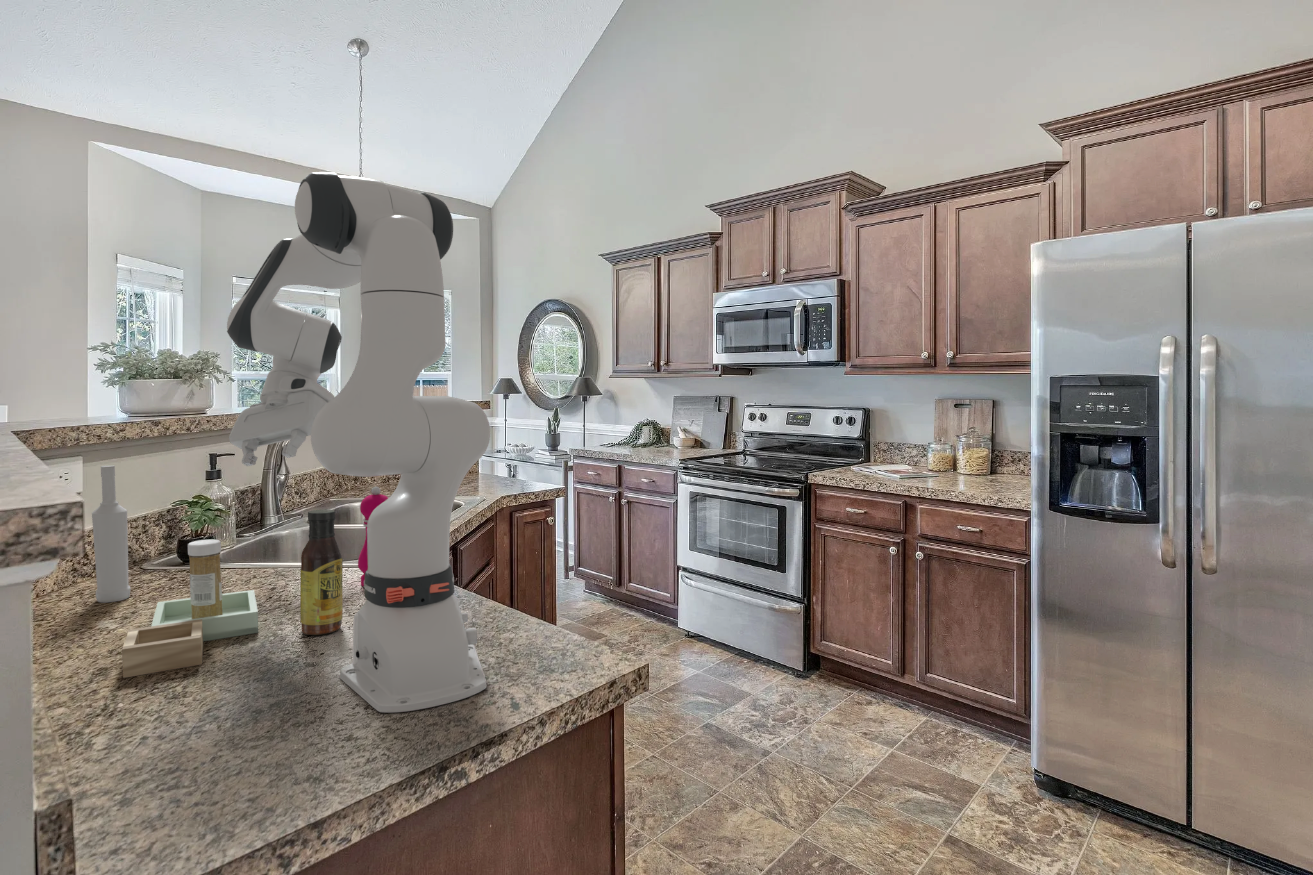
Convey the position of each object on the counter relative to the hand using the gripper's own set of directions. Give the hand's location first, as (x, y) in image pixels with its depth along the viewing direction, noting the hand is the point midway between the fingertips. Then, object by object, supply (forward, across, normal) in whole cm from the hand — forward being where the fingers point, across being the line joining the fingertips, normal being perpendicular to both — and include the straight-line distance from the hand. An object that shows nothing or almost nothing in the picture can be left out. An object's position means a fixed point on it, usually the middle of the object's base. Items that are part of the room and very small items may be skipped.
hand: (267, 460), depth 124 cm
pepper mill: (+15, +4, +30) cm, 33 cm away
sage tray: (+29, -5, +3) cm, 30 cm away
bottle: (+21, -35, +5) cm, 41 cm away
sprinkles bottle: (+28, -5, +2) cm, 29 cm away
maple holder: (+37, +1, -7) cm, 37 cm away
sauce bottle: (+30, +13, +9) cm, 34 cm away
